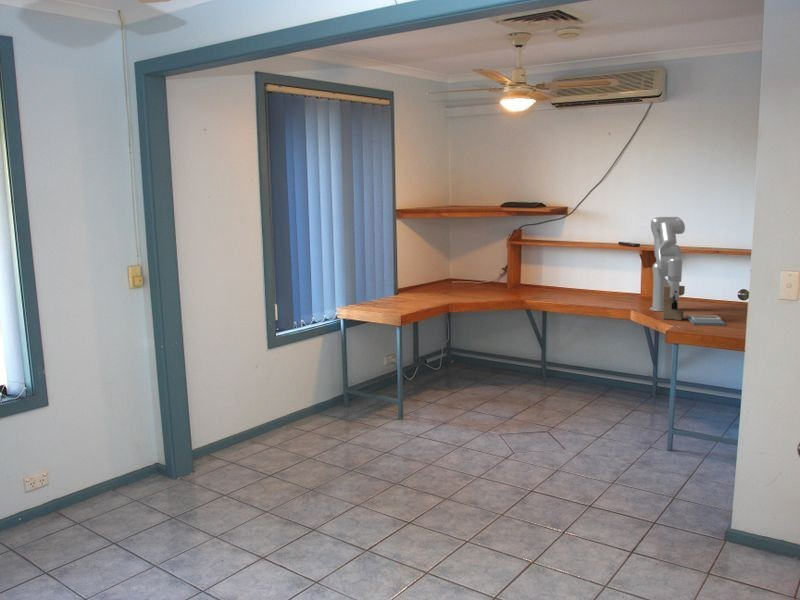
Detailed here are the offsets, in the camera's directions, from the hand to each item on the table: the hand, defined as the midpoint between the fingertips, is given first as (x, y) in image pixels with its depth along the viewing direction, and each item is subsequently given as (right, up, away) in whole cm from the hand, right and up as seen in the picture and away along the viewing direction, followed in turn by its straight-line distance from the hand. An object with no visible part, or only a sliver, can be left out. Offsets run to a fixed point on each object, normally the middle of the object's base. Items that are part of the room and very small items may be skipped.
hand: (673, 308), depth 409 cm
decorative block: (0, -7, +1) cm, 7 cm away
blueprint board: (+15, -8, -7) cm, 19 cm away
